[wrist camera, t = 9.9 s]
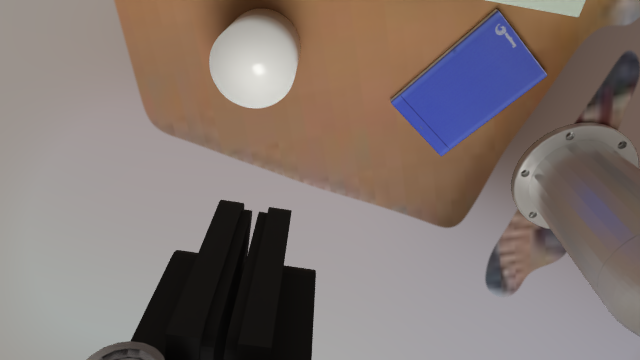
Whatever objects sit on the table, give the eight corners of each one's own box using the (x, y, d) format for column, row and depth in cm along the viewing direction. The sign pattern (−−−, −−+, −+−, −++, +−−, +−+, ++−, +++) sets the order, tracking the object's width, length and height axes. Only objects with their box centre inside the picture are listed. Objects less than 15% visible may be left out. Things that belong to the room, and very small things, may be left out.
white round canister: (305, 15, 42) (301, 31, 36) (295, 88, 45) (289, 114, 39) (229, 2, 41) (211, 15, 35) (224, 76, 45) (207, 101, 39)
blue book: (499, 10, 40) (390, 103, 45) (549, 76, 43) (442, 157, 47) (494, 7, 42) (389, 98, 46) (542, 71, 44) (439, 151, 49)
